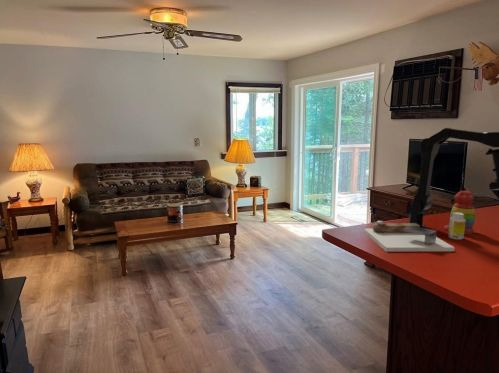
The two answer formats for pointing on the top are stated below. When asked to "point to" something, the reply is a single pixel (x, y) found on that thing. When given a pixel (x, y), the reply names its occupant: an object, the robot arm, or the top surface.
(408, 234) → the board
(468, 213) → the stacking bear
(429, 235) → the keeper
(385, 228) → the brown wooden bar
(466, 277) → the top surface
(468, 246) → the top surface
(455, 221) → the supplement bottle
